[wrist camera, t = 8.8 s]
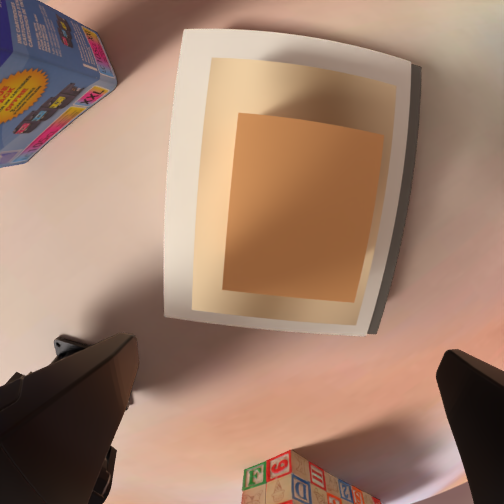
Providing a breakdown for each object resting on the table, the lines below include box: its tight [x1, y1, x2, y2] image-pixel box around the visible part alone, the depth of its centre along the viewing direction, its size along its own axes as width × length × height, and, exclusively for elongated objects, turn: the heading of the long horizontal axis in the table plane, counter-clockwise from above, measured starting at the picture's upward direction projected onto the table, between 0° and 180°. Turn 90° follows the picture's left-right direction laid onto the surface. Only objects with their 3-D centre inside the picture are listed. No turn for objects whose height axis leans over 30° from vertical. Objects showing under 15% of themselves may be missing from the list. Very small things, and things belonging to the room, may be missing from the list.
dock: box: [164, 29, 421, 336], centre depth 16 cm, size 13×16×3 cm
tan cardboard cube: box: [222, 113, 384, 303], centre depth 10 cm, size 4×5×3 cm
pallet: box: [192, 58, 396, 325], centre depth 13 cm, size 7×10×4 cm
